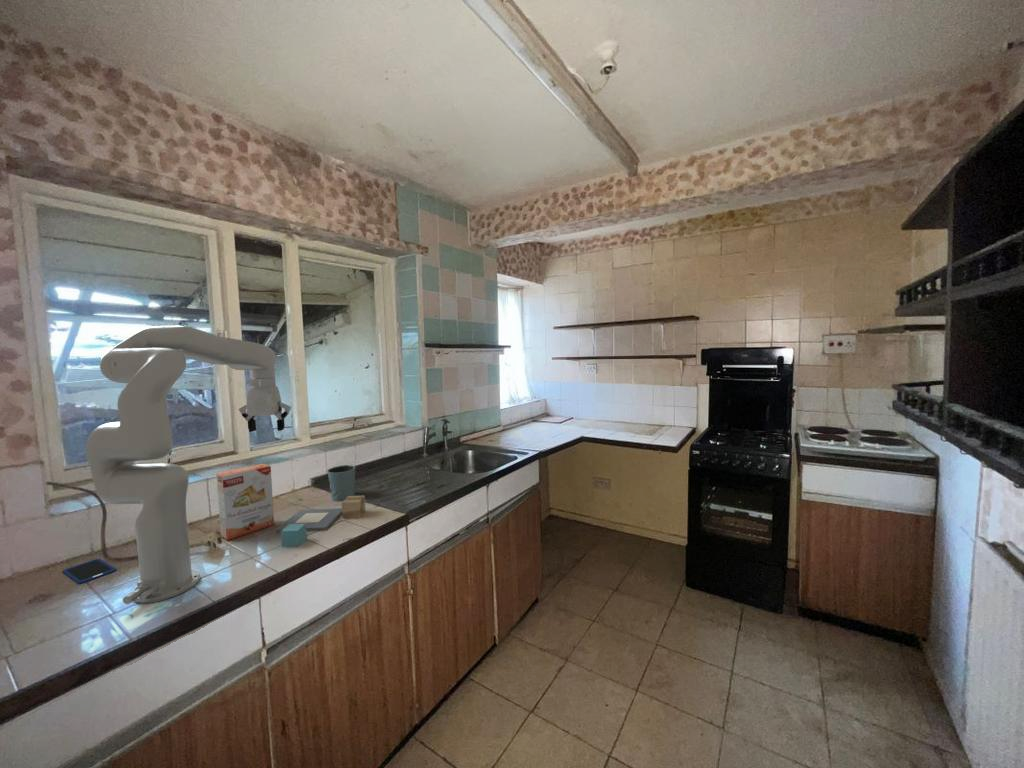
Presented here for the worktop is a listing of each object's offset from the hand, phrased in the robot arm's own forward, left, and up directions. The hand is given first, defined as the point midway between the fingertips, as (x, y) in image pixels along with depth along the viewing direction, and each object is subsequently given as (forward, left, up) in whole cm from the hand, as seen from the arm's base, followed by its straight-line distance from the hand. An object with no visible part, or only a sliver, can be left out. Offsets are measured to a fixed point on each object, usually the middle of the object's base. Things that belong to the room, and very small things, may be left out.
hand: (266, 430), depth 141 cm
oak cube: (-3, -30, -31) cm, 44 cm away
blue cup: (+15, -19, -31) cm, 40 cm away
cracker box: (-13, +1, -31) cm, 34 cm away
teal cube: (-23, -19, -31) cm, 43 cm away
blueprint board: (-7, -17, -31) cm, 36 cm away
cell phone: (-35, +30, -32) cm, 56 cm away
